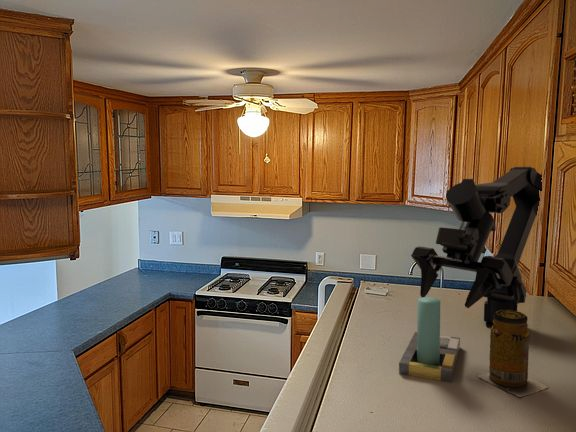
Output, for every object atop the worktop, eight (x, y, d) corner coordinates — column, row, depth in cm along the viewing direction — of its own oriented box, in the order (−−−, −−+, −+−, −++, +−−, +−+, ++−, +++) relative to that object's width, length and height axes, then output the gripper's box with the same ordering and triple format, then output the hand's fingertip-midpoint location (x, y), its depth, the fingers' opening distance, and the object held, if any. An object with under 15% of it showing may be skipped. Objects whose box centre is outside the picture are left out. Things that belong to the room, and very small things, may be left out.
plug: (436, 363, 87) (437, 297, 85) (441, 373, 83) (442, 304, 81) (415, 363, 87) (415, 297, 86) (419, 373, 83) (419, 304, 82)
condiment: (505, 368, 84) (507, 305, 83) (548, 388, 77) (551, 319, 75) (476, 377, 81) (478, 312, 80) (519, 399, 74) (521, 327, 72)
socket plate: (459, 347, 94) (460, 336, 94) (451, 382, 80) (451, 369, 79) (415, 340, 98) (415, 330, 97) (399, 373, 83) (399, 361, 83)
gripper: (416, 208, 95) (384, 270, 89) (507, 214, 81) (476, 289, 76) (436, 239, 101) (407, 299, 96) (524, 250, 87) (497, 321, 82)
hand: (443, 301), depth 87 cm, fingers open, 9 cm apart
